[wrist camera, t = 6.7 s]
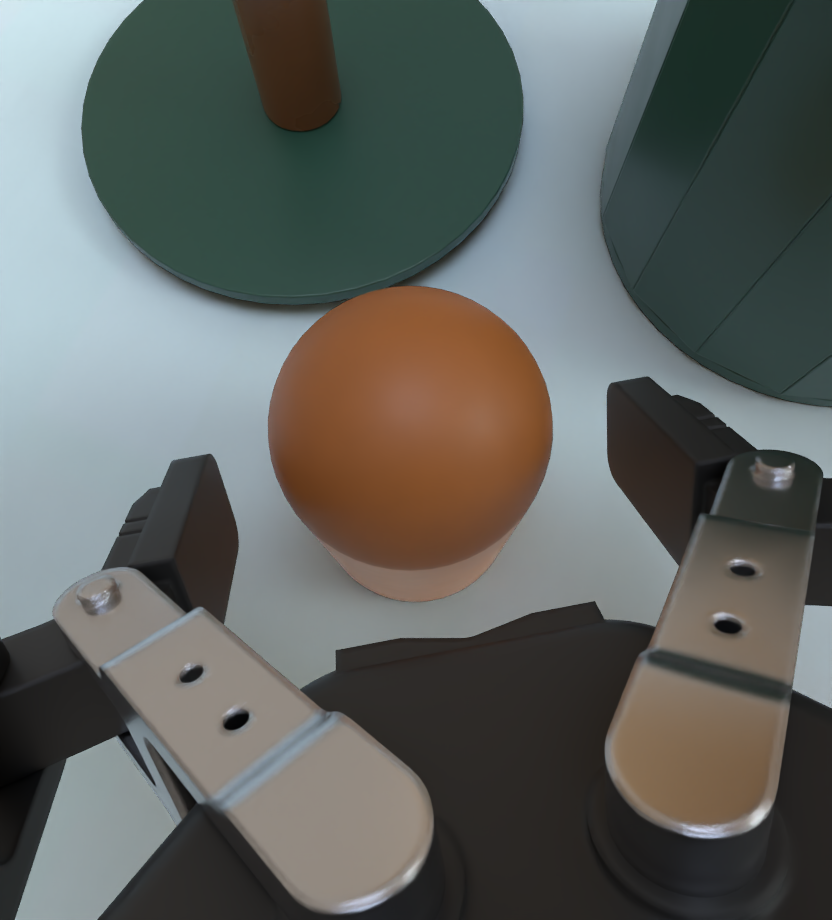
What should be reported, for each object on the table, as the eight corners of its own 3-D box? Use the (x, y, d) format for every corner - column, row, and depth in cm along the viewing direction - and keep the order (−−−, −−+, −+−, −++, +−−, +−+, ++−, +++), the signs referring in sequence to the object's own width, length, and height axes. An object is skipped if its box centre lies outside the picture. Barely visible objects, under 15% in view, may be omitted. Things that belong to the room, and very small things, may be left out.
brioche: (347, 625, 19) (273, 589, 10) (303, 445, 20) (204, 268, 11) (534, 572, 19) (632, 489, 10) (477, 399, 21) (518, 191, 12)
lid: (130, 365, 21) (17, 251, 15) (70, 15, 25) (-37, -181, 19) (578, 251, 22) (633, 103, 16) (451, -69, 26) (458, -280, 20)
